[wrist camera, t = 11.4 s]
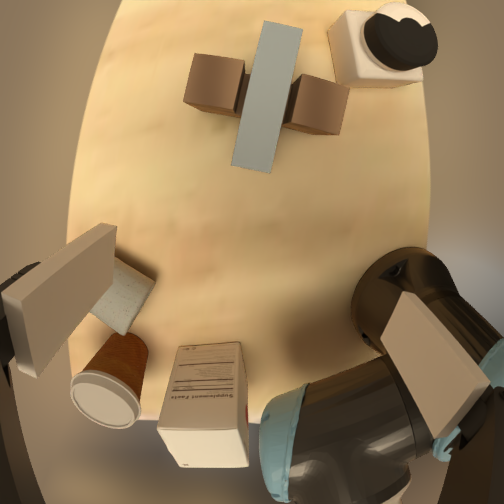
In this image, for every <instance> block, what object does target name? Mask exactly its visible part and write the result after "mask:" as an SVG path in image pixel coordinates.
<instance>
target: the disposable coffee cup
mask: <svg viewBox="0 0 504 504" xmlns="http://www.w3.org/2000/svg"><path fill="white" fill-rule="evenodd" d="M147 357H148V350H147V347H146V345H145V344H144V342H143V341H142V340H141V339H140V338H138V337H137V336H135V335H133V334H131V333H128V332H127V333H126V335H124V336H123V335H121V334H119V333H118V332H116V333H114V334H113V335H111V337H110V338H109V339H108V340H107V341H106V343H105V344H104V345H103V346H102V347H101V349H100V350H99V351H98V352H97V353H96V355H95V356H94V357H93V358H92V359H91V361H90V362H89V363H88V364H87V365H86V367H85V368H84V369H83V371H82V372H80V373H78V374H76V375H75V376H74V377H73V378H72V380H71V391H70V395H71V399H72V401H73V403H74V405H75V406H76V407H77V409H78V410H79V411H81V413H82V414H84V415H85V416H86V417H88V418H89V419H90V420H92V421H94V422H96V423H98V424H100V425H102V426H106V427H109V428H114V429H124V428H128V427H129V426H131V425H132V424H133V423H134V422H135V421H136V420H137V419H139V417H140V415H141V407H140V396H141V390H142V385H143V379H144V372H145V368H146V363H147Z"/></svg>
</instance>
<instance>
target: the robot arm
mask: <svg viewBox="0 0 504 504" xmlns="http://www.w3.org/2000/svg"><path fill="white" fill-rule="evenodd" d="M116 231H117V226H114V225H110V224H105V223H100V224H98V225H97V226H95V227H94V228H92V229H90V230H89V231H87V232H86V233H84V234H83V235H81V236H80V237H78V238H76V239H75V240H73V241H72V242H70V243H69V244H67V245H66V246H65V247H63V248H61V249H60V250H59V251H57V252H56V253H54V254H53V255H52V256H50V257H48V258H47V259H46V260H44V261H43V262H36V263H33V264H30V265H28V266H26V267H24V268H23V269H21V270H20V271H19V272H18V274H17V273H16V274H14V275H13V276H12V277H11V279H10V278H9V279H8V280H6V281H5V282H4V283H2V284H1V285H0V504H45V501H44V499H43V496H42V494H41V491H40V488H39V486H38V483H37V480H36V477H35V474H34V471H33V468H32V465H31V462H30V459H29V456H28V452H27V448H26V445H25V442H24V438H23V434H22V430H21V426H20V421H19V416H18V411H17V406H16V401H15V396H14V390H13V383H12V377H11V370H10V367H9V364H8V363H9V362H10V360H11V359H12V358H13V357H14V356H15V359H16V362H17V366H18V369H19V370H21V371H23V372H24V373H26V374H28V375H31V376H33V377H35V378H38V377H39V376H40V374H41V373H42V372H43V370H44V369H45V368H46V366H47V365H48V363H49V362H50V361H51V360H52V358H53V357H54V356H55V354H56V353H57V352H58V350H59V349H60V347H61V346H62V345H63V344H64V342H65V341H66V340H67V339H68V337H69V336H70V335H71V334H72V332H73V331H74V330H75V328H76V327H77V326H78V325H79V324H80V322H81V321H82V320H83V319H84V317H85V316H86V315H87V314H88V312H89V311H90V310H91V309H92V308H93V306H94V305H95V304H96V303H97V302H98V300H99V299H100V298H101V297H102V296H103V294H104V293H105V292H106V291H107V290H108V289H109V287H110V286H111V285H112V284H113V270H114V254H115V242H116ZM351 316H352V321H353V324H354V326H355V328H356V330H357V332H358V334H359V335H360V337H361V338H362V340H363V341H364V342H365V343H366V344H367V345H369V346H370V347H371V348H373V349H374V350H375V351H377V352H378V353H379V354H381V355H382V356H380V357H378V358H375V359H373V360H371V361H368V362H366V363H363V364H361V365H359V366H356V367H354V368H351V369H349V370H346V371H343V372H341V373H338V374H336V375H333V376H330V377H327V378H325V379H322V380H319V381H316V382H313V383H311V384H310V383H306V384H304V385H303V386H302V387H300V388H297V389H295V390H292V391H289V392H287V393H284V394H281V395H278V396H276V397H274V398H273V399H272V400H271V401H270V402H269V403H268V404H267V405H266V407H265V409H264V411H263V414H262V417H261V424H260V431H259V451H260V461H261V468H262V473H263V477H264V481H265V484H266V487H267V489H268V491H269V492H271V495H272V497H273V498H274V499H275V500H276V501H279V502H285V503H288V502H290V501H292V500H293V501H294V502H295V504H403V502H402V499H401V496H402V494H403V493H404V492H405V490H406V489H407V487H408V486H409V484H410V482H411V474H410V470H409V466H408V463H409V462H411V461H413V460H415V459H417V458H419V457H421V456H423V455H425V454H427V453H429V452H432V454H433V456H434V457H435V458H437V459H438V460H440V461H443V462H446V461H450V462H449V466H448V470H447V474H446V477H445V481H444V484H443V488H442V491H441V494H440V498H439V501H438V504H504V337H502V335H501V334H500V333H498V331H497V330H496V329H495V328H494V327H493V326H491V324H490V323H489V322H488V321H487V320H486V319H485V318H484V317H482V316H481V315H480V314H479V313H478V312H477V311H476V310H475V309H474V308H473V307H472V306H471V305H470V304H469V303H468V302H467V301H465V300H464V299H463V298H462V297H461V296H460V295H459V293H458V291H457V288H456V286H455V284H454V282H453V279H452V277H451V275H450V273H449V271H448V269H447V267H446V266H445V265H444V264H443V262H442V261H441V260H439V259H438V258H437V257H436V256H435V255H433V254H432V253H430V252H429V251H427V250H425V249H421V248H415V247H410V248H403V249H399V250H396V251H393V252H391V253H389V254H387V255H385V256H384V257H382V258H381V259H379V260H378V261H377V262H375V263H374V264H373V265H372V266H371V267H370V268H369V269H368V270H367V272H366V273H365V274H364V275H363V277H362V278H361V280H360V281H359V283H358V285H357V287H356V289H355V292H354V295H353V298H352V303H351Z"/></svg>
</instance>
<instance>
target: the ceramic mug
mask: <svg viewBox="0 0 504 504" xmlns="http://www.w3.org/2000/svg"><path fill="white" fill-rule="evenodd" d="M154 285H155V281H153V280H152V279H150V278H148V277H147V276H145V275H143V274H142V273H140V272H138V271H137V270H135V269H134V268H132V267H130V266H129V265H127V264H125V263H124V262H122V261H121V260H119V259H118V258H116V257H115V256H114V270H113V284H112V285H111V286H110V287H109V289H108V290H107V291H106V292H105V293H104V294H103V296H102V297H101V298H100V299H99V300H98V302H97V303H96V304H95V305H94V306H93V308H92V309H91V310H90V311H89V312H90V313H92V314H93V315H95V316H96V317H97V318H98V319H100V320H101V321H103V322H104V323H105V324H107V325H108V326H109V327H111V328H112V329H113V330H115V331H116V332H118V333H119V334H121V335H123V336H124V335H126V333H127V332H128V330H129V329H130V327H131V325H132V323H133V322H134V320H135V318H136V316H137V315H138V313H139V311H140V310H141V308H142V306H143V305H144V303H145V301H146V299H147V298H148V296H149V294H150V293H151V291H152V289H153V287H154Z"/></svg>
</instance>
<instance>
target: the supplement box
mask: <svg viewBox="0 0 504 504" xmlns="http://www.w3.org/2000/svg"><path fill="white" fill-rule="evenodd" d="M157 430H158V432H159V434H160V435H161V437H162V439H163V441H164V442H165V444H166V445H167V448H168V450H169V452H170V453H171V454H172V455H173V457H174V458H175V460H176V462H177V463H178V465H179V466H180V467H202V468H203V467H206V468H208V467H209V468H210V467H211V468H214V467H215V468H217V467H218V468H234V467H235V468H236V467H247V466H249V439H248V384H247V378H246V373H245V367H244V362H243V357H242V351H241V346H240V343H239V342H234V343H223V344H211V345H198V346H184V347H179V348H178V351H177V354H176V358H175V362H174V365H173V369H172V372H171V376H170V380H169V383H168V387H167V391H166V394H165V398H164V402H163V406H162V409H161V413H160V417H159V421H158V425H157Z"/></svg>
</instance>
